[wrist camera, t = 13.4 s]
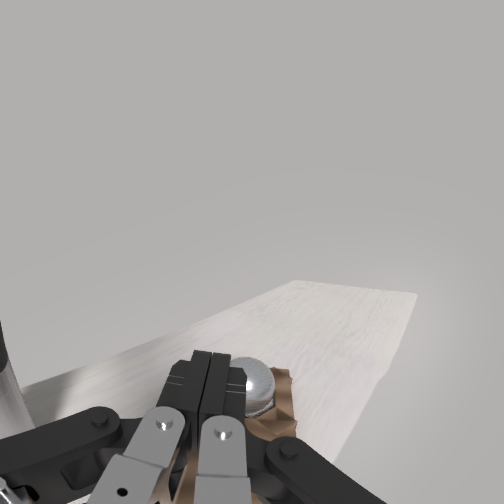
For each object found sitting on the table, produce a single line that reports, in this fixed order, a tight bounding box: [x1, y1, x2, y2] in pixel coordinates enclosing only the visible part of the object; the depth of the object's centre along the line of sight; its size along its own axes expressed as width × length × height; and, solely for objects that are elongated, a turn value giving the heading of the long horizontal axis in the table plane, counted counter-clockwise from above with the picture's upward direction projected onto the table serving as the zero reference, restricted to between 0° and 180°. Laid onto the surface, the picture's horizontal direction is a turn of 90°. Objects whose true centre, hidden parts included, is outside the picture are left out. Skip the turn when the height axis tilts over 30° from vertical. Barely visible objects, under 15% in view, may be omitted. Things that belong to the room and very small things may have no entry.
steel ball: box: [230, 357, 275, 414], centre depth 50 cm, size 10×10×10 cm
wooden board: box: [175, 367, 298, 504], centre depth 44 cm, size 34×19×2 cm, turn 178°
